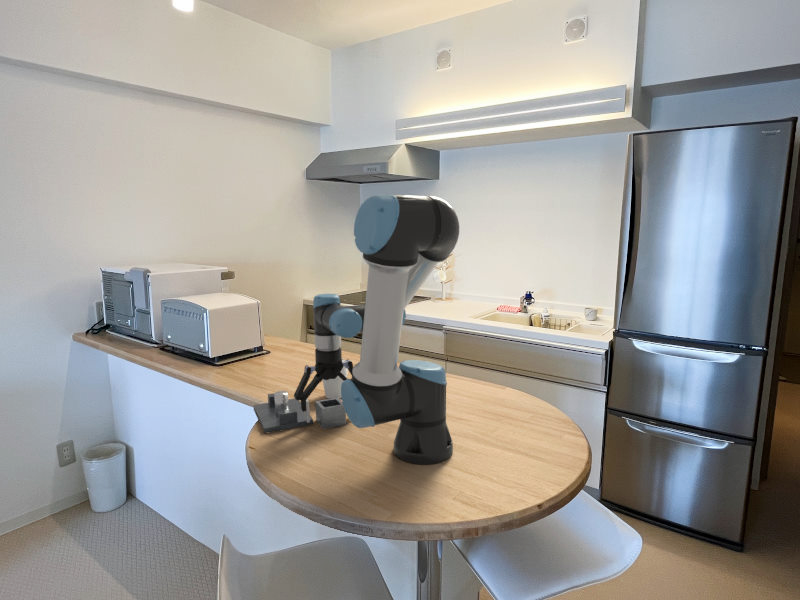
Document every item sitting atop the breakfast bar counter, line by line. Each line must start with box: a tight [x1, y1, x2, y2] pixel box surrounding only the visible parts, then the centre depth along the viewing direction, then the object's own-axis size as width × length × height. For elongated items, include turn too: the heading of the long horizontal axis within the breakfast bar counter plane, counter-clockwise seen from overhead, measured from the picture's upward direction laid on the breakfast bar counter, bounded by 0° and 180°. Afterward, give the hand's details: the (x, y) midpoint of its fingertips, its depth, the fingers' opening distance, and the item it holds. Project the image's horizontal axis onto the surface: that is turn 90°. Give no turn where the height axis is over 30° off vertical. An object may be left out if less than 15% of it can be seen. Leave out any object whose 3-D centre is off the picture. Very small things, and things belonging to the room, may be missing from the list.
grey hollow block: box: [315, 398, 347, 430], centre depth 142 cm, size 7×7×6 cm
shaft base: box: [253, 390, 314, 434], centre depth 147 cm, size 20×14×8 cm
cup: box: [322, 358, 349, 400], centre depth 164 cm, size 9×9×12 cm
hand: (330, 417), depth 143 cm, fingers open, 13 cm apart
